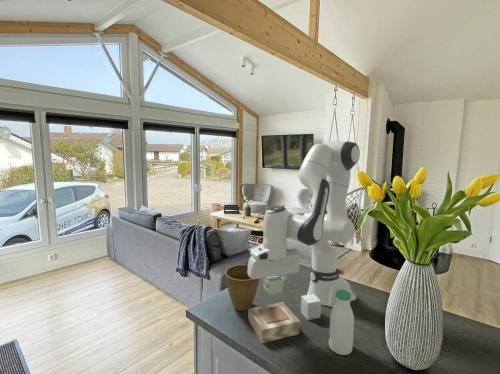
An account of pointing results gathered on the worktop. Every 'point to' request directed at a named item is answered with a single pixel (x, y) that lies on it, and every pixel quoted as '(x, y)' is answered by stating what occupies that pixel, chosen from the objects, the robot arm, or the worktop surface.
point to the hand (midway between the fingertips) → (273, 286)
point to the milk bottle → (341, 324)
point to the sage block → (274, 284)
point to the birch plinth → (273, 322)
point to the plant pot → (241, 287)
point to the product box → (310, 306)
